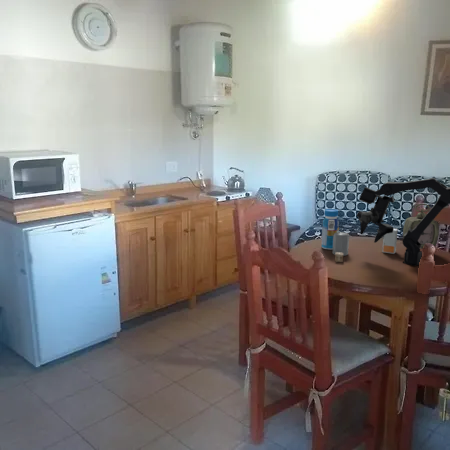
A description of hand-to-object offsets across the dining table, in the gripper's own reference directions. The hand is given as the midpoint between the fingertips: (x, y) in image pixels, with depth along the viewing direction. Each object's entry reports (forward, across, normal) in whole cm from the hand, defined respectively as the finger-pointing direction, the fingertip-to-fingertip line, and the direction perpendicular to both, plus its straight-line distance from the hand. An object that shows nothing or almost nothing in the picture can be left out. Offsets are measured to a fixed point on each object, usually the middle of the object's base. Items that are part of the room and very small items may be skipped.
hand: (368, 238), depth 220 cm
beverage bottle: (+15, -19, -1) cm, 25 cm away
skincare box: (+7, +1, +19) cm, 20 cm away
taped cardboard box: (+12, 0, -14) cm, 18 cm away
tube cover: (+13, -9, -4) cm, 16 cm away
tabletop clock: (+3, +8, +30) cm, 31 cm away
